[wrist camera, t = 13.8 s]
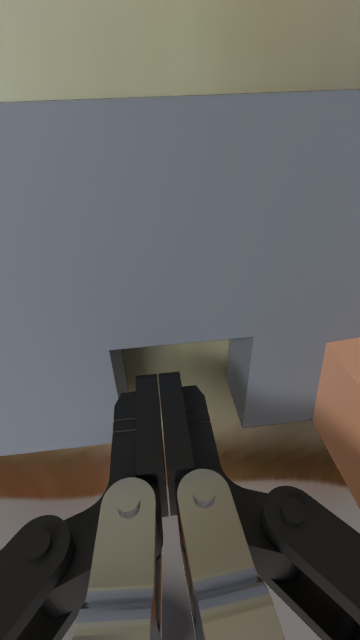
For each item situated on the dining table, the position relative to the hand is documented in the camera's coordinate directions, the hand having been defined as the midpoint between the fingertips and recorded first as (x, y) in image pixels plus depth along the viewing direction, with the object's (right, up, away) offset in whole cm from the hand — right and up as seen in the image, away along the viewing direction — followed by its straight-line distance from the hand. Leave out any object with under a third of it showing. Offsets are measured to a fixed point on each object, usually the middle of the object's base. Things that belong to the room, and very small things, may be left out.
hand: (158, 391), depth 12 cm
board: (+6, +5, +2) cm, 8 cm away
